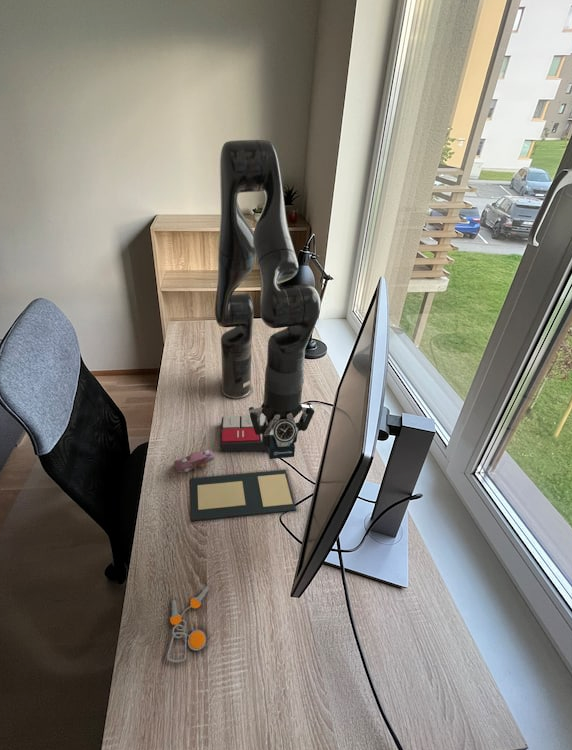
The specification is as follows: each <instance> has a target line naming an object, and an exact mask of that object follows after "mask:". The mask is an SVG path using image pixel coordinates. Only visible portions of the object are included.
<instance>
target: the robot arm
mask: <svg viewBox="0 0 572 750" xmlns="http://www.w3.org/2000/svg"><path fill="white" fill-rule="evenodd" d="M219 187H220V188H219V193H220V194H219V196H220V219H219V220H220V221H219V235H218V247H217V249H218V250H217V252H218V253H217V285H216V294H215V299H214V300H215V301H214V319H215V322H216V324H217V326H219V327H221V328H230V329H229V330H227V331H225V332H224V333H222V335H221V337H220V351H221V352H220V355H221V358H220V359H221V392H222V394H223V395H224V396H225V397H227V398H229V399H233V400H234V399H236V400H237V399H244V398H246V397H247V396H249V395H250V393H251V392H252V345H253V344H252V341H253V327H254V317H255V314H254V313H255V307H254V306H255V305H254V300H253V298H252V296H251V294H249V293H246V292H245V293H244V292H243V293H242V292H241V293H234V292H235V290H237V289H238V287H239V286H240V285H241V284H242V283H243V282H244V281H245V280H246V279H247V278H248V276H249V275H250V274H251V273H252V271H253V270H254V267H255V265H256V262H257V266H258V270H259V276H260V297H259V316H260V319H261V320H262V322H263V323H264V325H266V327H268V328H271V329H281V330H279V331H276V332H274V333H272V334H271V335H270V337H269V338H268V341H267V356H266V366H265V371H264V391H263V403H262V404H261V406H260V407H256V408H255V407H254V406H250V407H249V408H248V415H250V418H251V421H252V424H253V427H254V430H255V434H256V435H260V434H262V442H263V445H266V448H268V447H269V446H270V432H271V430H272V429H273V427H274V425H275V424H276V423H277V421H278V420H279V419H288V420H290V421H292V422H293V423H294V425H295V427H296V428H298V431H296V435H295V437H294V439H293V441H292V443H291V444H294V445H295V444H296V443H297V442H298V441H297V440H298V433H299V432H300V431H301V432H305V431H307V429H308V427H309V425H310V424H311V420H312V419H313V416H314V414H315V408H314V406H313V404H312V403H311V402H306V404H303V403H302V396H303V395H302V394H303V387H304V382H305V378H304V377H305V371H304V370H305V369H304V366H305V365H304V364H305V355H306V348H307V345H308V343H309V341H310V338H311V335H313V334H312V333H313V331H314V329H315V327H316V325H317V322H318V320H319V318H320V317H319V316H320V313H321V308H322V307H321V306H322V305H321V304H322V303H321V297H320V294H319V292H318V291H317V289H316V288H315V287H314V286H313V285H312V284H305V283H304V284H303V283H302V284H295V285H285V286H284V285H283V286H279V285H280V284H282V283H285V282H287V281H289V280H291V279H293V278H294V277H295V276H296V275H297V273H298V272H299V261H298V257H297V255H296V251H295V247H294V243H293V241H292V237H291V233H290V229H289V225H288V220H287V213H286V205H285V196H284V195H285V194H284V189H283V182H282V174H281V168H280V162H279V157H278V153H277V149H276V148H275V146H274V144H273V143H272V142H271V141H270V140H265V139H240V140H229V141H226V142H225V143H223V145H222V147H221V150H220V156H219ZM258 192H263V193H264V196H265V201H264V205H263V207H262V211H261V213H260V215H259V217H258V220H257V222H256V224H255V227H254V229H253V228H252V226H251V224H250V223H249V222H248V220H247V219H246V217H245V215H244V214H243V212H242V210H241V208H240V205H239V203H238V195H239V194H240V193H242V194H243V193H258ZM282 328H283V329H282ZM300 413H301V415H300V417H299V420H298V421H297V422H296V421H295V418H296V417H297V416H298V415H299V414H300ZM260 415H265V416H266V417H265V421H264V423H263V425H259V422H258V420H259V418H260Z"/></svg>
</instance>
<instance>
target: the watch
mask: <svg viewBox="0 0 572 750" xmlns="http://www.w3.org/2000/svg"><path fill="white" fill-rule="evenodd" d="M296 431H298V428H296V427H295V425H294V423H293V422H292V421H290V420H288V419H279V420H278V421H277V423H276V424H275V425H274V427H273V434H274V435H270V446H269V447H268V448H267V450H268V452H267V455H268V458H269V460H275V459H276V460H277V459H286V458H294V457H295V451H296V444H295V443H294V444H291V443H292V441H293V439H294V437H295V435H296Z"/></svg>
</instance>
